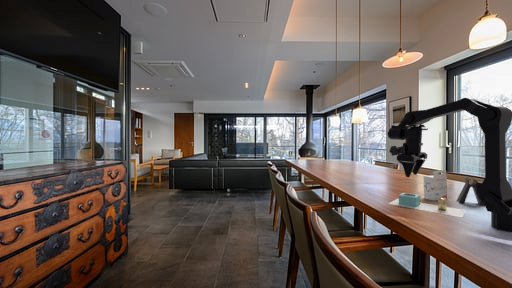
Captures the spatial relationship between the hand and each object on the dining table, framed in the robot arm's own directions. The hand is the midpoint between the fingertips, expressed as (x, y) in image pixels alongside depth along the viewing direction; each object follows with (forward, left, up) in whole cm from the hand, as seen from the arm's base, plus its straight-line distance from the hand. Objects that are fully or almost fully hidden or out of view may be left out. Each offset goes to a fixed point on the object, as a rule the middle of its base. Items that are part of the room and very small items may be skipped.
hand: (411, 175), depth 95 cm
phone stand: (+20, -17, -14) cm, 29 cm away
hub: (-1, -11, -12) cm, 16 cm away
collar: (-1, 0, -12) cm, 12 cm away
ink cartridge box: (+18, -5, -14) cm, 23 cm away
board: (-1, -5, -13) cm, 14 cm away
